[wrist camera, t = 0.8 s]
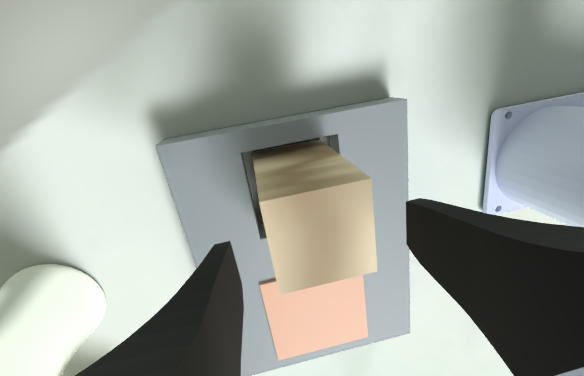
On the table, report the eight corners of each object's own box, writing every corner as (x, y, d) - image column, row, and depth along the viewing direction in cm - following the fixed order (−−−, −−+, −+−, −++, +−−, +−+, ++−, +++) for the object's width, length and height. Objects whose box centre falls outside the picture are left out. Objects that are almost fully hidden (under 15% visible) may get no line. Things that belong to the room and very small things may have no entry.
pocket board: (390, 97, 18) (408, 99, 16) (397, 314, 25) (411, 335, 23) (164, 139, 17) (154, 147, 15) (235, 356, 24) (234, 382, 22)
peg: (320, 139, 19) (371, 178, 11) (327, 201, 20) (377, 271, 13) (252, 152, 18) (258, 202, 11) (265, 214, 20) (279, 295, 12)
